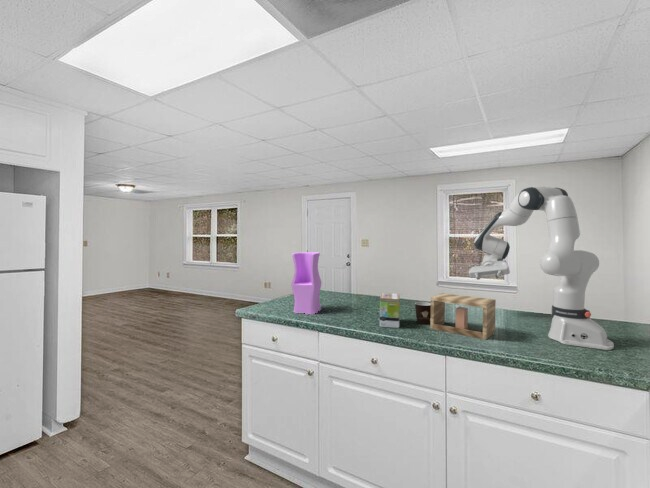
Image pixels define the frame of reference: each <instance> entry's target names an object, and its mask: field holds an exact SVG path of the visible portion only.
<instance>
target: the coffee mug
mask: <svg viewBox="0 0 650 488" xmlns="http://www.w3.org/2000/svg"><path fill="white" fill-rule="evenodd" d="M414 307H415V315H416V317H415V318H416V323H417V324H419V325H429V324H431V302H428V301H427V302H426V301H418V302H415V303H414Z"/></svg>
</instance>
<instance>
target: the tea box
mask: <svg viewBox="0 0 650 488" xmlns="http://www.w3.org/2000/svg"><path fill="white" fill-rule="evenodd" d="M400 296H401V295H400V293H390V292H389V293H388V292H381V293H380V297H379V298H380V299H379V327H380V328H393V329H399V328H400V313H401V308H400V307H401V305H400V304H401V299H400Z"/></svg>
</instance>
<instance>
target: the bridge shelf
mask: <svg viewBox="0 0 650 488" xmlns="http://www.w3.org/2000/svg"><path fill="white" fill-rule="evenodd" d="M430 303H431V318H430V329H431V330H435V331H440V332H445V333H450V334H454V335H455V334H456V335H461V336H465V337H470V338H476V339H481V340H488V339H489V338H491V336H492V334H493V333H494V334H495V333H496V304H497V303H496V299H492V298H485V297H476V296H468V295H461V294H460V295H459V294H453V293H451V294H450V293H445V292H444V293H443V292H441V293H438V294H436V295H433V296H430ZM446 303H448V304H454V305H462V306H468V307H469V306H470V307H476V308H482V332H481V331H477V330H471V329H468V330H467V329H461V328H456V327H455V326H450V325H444V324H445V321H446V320H445V317H446V316H445V315H446V314H445V312H446V305H445V304H446ZM494 334H493V335H494Z"/></svg>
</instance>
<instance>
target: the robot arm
mask: <svg viewBox="0 0 650 488" xmlns="http://www.w3.org/2000/svg"><path fill="white" fill-rule="evenodd" d="M534 211H544V213H545V215H546V222H547V229H548V238H549V241H548V245H547V249H546V251H545V253H544V254H543V255H542V256H541V258H540V260H539V263H540V264H539V265H540V269H541V270H542V271H543V272H544V274H547V275H551V276H555V277H561V279H560V281H559V282H558V283H557V284H556V285H555V286H554V288H553V291H552V292H553V294H552V295H553V298H552V306H551V313H550V315H551V318H552V319H551V322H550V323H551V325H550V329H549V331H548V335H547V337H548V338H549V339H552V340H554V341H556V342H559V343H561V344H562V345H568V346H575V347H583V348H590V349H597V350H605V351H610V350H613V349H615V344H614V342H613V341H611V340H610V339H608V334H607V333H606V330H605V329H604V327H602V326H601V325H600V324H598V323H597V322H595V321H594V320H593V319H591V316H592V312H591V311H590V310H588V309H586V308H585V299H586V290H587V287H588V283H589V282H590V279H591V277H592V275H593V274H594V273H595V272H596V271H598V268H599V267H600V260H599V257H598V256H597V255H596V254H595V253H593V252H591V251H586V250H580V249H578V250H576V249H574V248H575V243H576V241H577V240H578V239H579V237H580V235H581V231H580V225H579V220H578V213H577V210H576V208H575V204H574V202H573V200H572V199H571V196H569V194H568V192H567V190H565V189H563V188H560V187H551V186H549V187H548V186H536V187H533V186H531V187H526V188H523V189H522V190H520V191H519V192H518V193H517V194H516V196H515V197H513V199H512V200H511V203H510V204H509V205H508V207H507V208H506V209H505V210H502V211H498V212H497V213H496V214H495V215H494V216H493V217H492V219H490V221H489V222H488V224H487V225H486V226H485V227H484V228H483V230H481V232H479V234H478V235H477V236H476V237H475V238H474V241H473V245H474V248H475V249H477V250H479V251H483V252H485V253H484V255H483V258H482V261H481V264H480V265H479V266H478V265H476V266H472V267H470V269H469V270H468V276H469V278H471V279H473V278H476V280H477V281H478V280H481V278H483V277H494V276H495V279H498V278H500V277H501V276H503V275H504V276H505V275H509V274H511V273H510V272H511V270H510V267H509V264H508V262H507V259H506V258H507V257H508V255H509V252H510V249H511V246H510V244H509V241H506V240H504V239H501V238H498V237H495V236H493V235H491V233H492V232H493V231H494V230H495V229H496V228H497V227H501V226H509V227H518V226H521V225H524V224H525V223H527V222H528V220H529V219H530V218H531V216H532V214H533V212H534Z"/></svg>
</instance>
